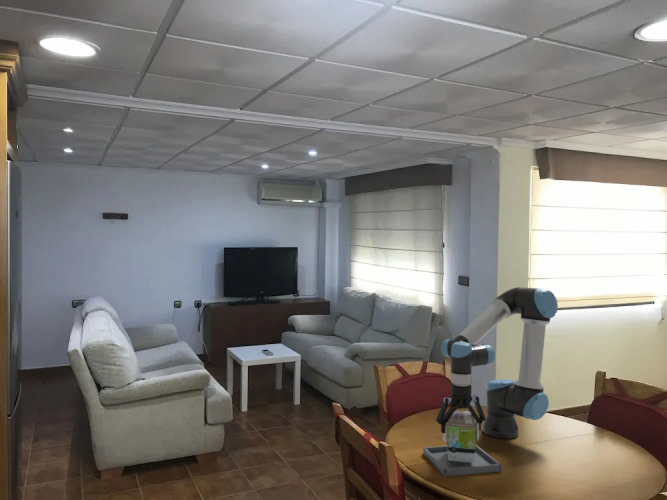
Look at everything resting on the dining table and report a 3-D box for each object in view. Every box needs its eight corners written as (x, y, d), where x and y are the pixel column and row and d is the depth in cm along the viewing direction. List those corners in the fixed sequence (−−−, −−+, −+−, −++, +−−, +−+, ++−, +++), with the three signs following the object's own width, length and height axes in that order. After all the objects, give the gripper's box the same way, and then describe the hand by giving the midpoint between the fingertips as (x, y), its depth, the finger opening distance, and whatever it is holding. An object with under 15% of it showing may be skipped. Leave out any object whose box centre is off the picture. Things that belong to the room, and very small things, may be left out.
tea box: (476, 463, 197) (476, 422, 197) (447, 461, 199) (447, 421, 198) (473, 448, 212) (473, 410, 211) (446, 446, 213) (446, 409, 213)
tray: (474, 449, 218) (474, 443, 218) (501, 471, 197) (501, 464, 197) (423, 453, 213) (423, 447, 213) (444, 476, 193) (444, 469, 193)
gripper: (485, 379, 211) (485, 434, 211) (427, 382, 206) (427, 438, 206) (495, 384, 203) (494, 441, 204) (435, 387, 199) (434, 446, 199)
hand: (460, 440), depth 205 cm, fingers closed on tea box, 12 cm apart
